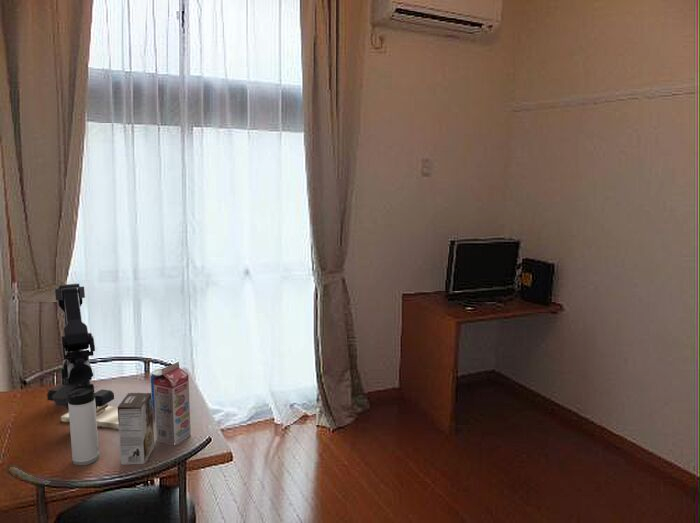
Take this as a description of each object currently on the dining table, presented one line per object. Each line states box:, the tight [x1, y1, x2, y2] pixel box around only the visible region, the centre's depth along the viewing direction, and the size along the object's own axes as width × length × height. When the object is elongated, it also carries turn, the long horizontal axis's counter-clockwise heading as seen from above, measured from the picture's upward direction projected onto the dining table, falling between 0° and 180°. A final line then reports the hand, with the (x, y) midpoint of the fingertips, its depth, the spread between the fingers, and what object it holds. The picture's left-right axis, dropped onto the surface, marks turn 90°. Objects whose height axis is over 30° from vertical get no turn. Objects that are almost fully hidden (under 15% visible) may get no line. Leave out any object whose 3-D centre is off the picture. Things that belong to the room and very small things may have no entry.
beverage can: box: [150, 368, 162, 409], centre depth 170 cm, size 6×6×12 cm
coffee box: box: [116, 392, 155, 465], centre depth 140 cm, size 9×6×16 cm
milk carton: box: [153, 361, 192, 447], centre depth 149 cm, size 7×7×22 cm
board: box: [60, 405, 119, 430], centre depth 162 cm, size 22×10×2 cm, turn 77°
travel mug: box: [68, 383, 100, 466], centre depth 137 cm, size 6×7×20 cm
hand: (82, 422), depth 155 cm, fingers closed on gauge, 4 cm apart
